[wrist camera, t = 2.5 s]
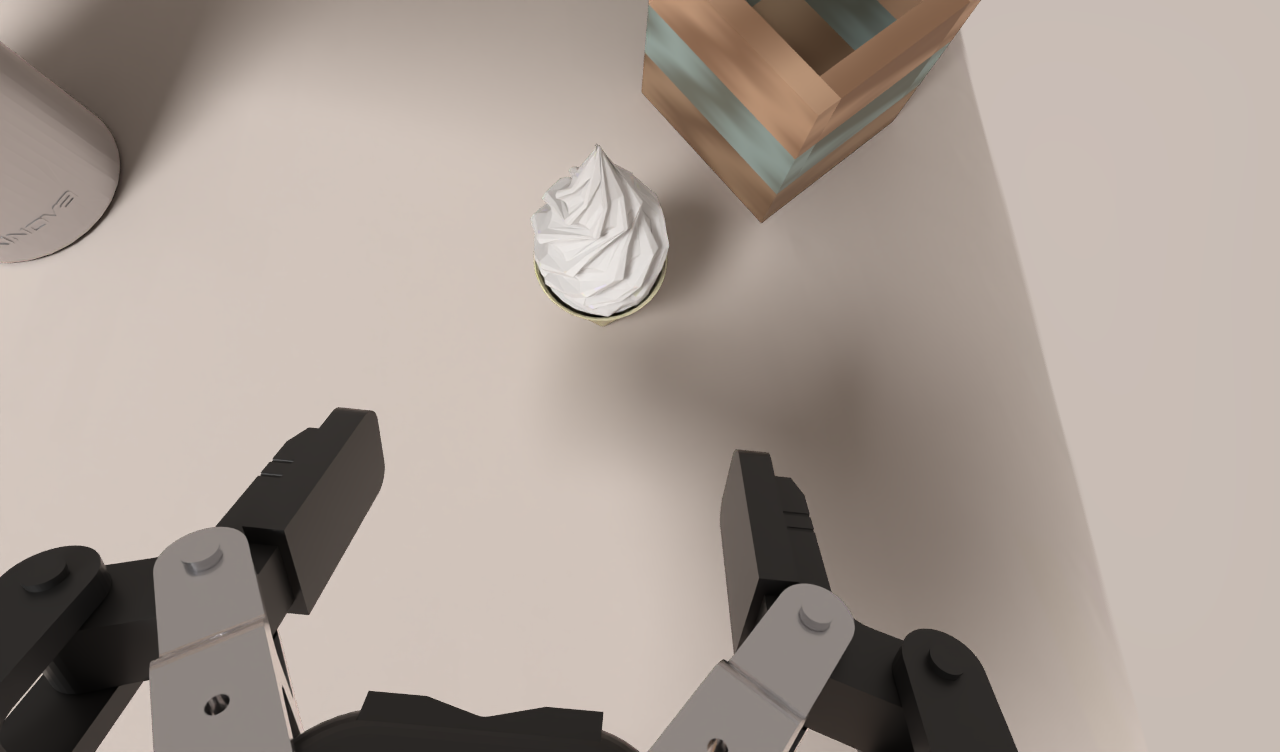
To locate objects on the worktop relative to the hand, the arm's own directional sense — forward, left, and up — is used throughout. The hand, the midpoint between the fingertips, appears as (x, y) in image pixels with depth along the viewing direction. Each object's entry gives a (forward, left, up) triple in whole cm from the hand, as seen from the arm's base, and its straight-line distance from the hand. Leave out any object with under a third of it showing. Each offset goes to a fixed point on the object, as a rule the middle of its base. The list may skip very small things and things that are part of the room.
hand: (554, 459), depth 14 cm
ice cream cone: (-6, +6, -16) cm, 18 cm away
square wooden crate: (-10, +21, -16) cm, 28 cm away
